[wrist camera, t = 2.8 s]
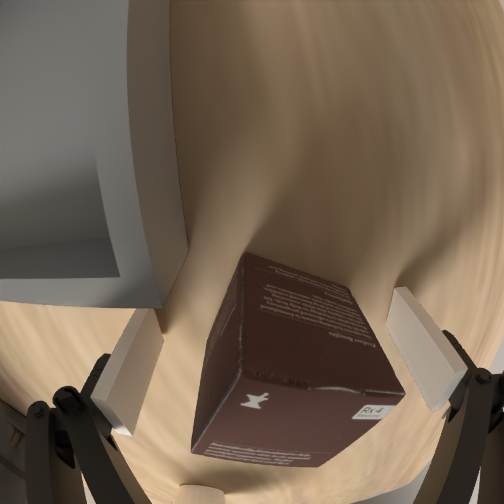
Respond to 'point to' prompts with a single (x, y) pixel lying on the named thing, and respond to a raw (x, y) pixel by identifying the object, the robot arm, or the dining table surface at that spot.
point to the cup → (198, 495)
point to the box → (289, 371)
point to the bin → (88, 154)
